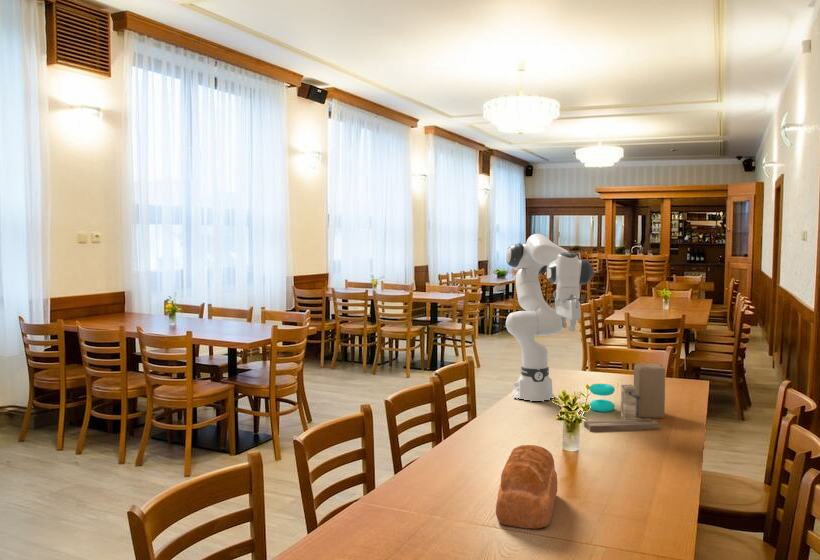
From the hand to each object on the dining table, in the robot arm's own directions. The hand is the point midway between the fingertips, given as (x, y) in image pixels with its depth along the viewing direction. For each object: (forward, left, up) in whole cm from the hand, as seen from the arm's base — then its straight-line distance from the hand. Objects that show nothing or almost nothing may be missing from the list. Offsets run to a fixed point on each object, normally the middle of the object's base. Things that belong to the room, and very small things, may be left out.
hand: (567, 329), depth 264 cm
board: (+17, +15, -35) cm, 42 cm away
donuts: (-10, +18, -35) cm, 41 cm away
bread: (+85, -39, -36) cm, 101 cm away
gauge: (+12, +21, -35) cm, 43 cm away
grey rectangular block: (+1, +33, -35) cm, 48 cm away
